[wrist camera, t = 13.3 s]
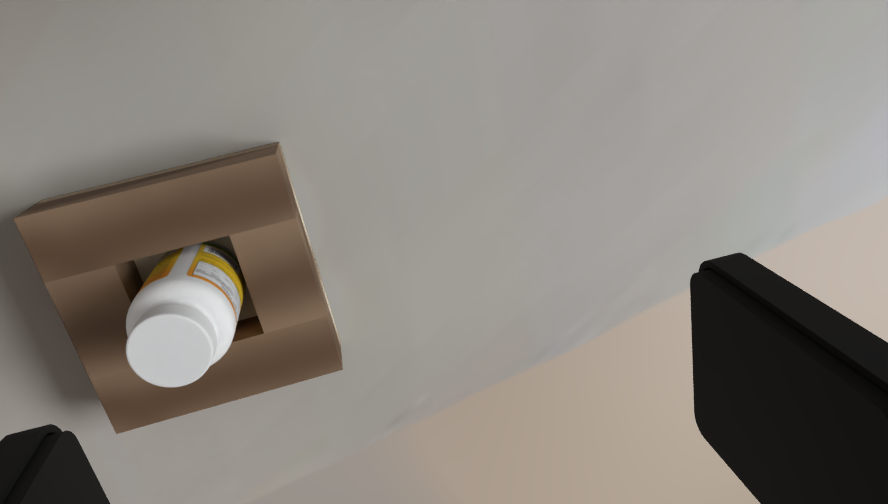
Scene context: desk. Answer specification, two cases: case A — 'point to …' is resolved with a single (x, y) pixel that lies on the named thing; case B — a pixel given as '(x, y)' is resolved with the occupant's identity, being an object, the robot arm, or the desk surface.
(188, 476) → the desk surface
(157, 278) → the supplement bottle
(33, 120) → the desk surface
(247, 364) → the socket block
